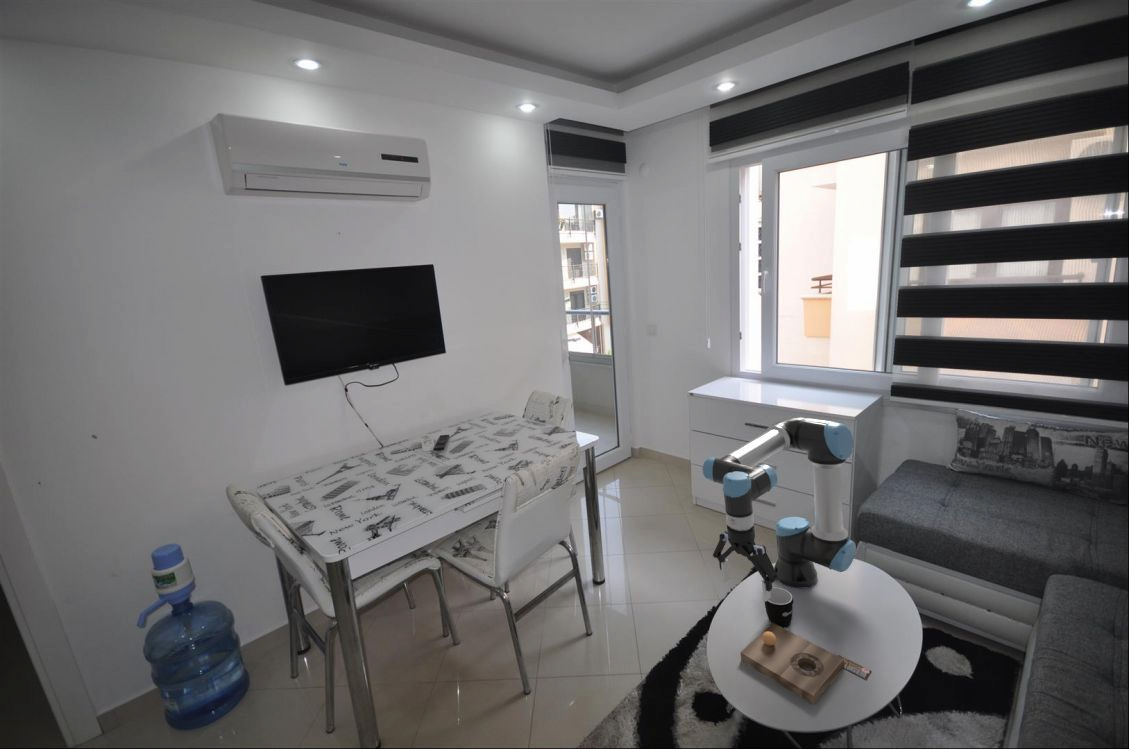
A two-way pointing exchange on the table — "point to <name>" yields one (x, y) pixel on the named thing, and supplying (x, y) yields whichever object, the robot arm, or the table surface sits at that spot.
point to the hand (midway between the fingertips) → (746, 589)
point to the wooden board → (793, 662)
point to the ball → (769, 638)
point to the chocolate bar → (856, 669)
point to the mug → (780, 607)
